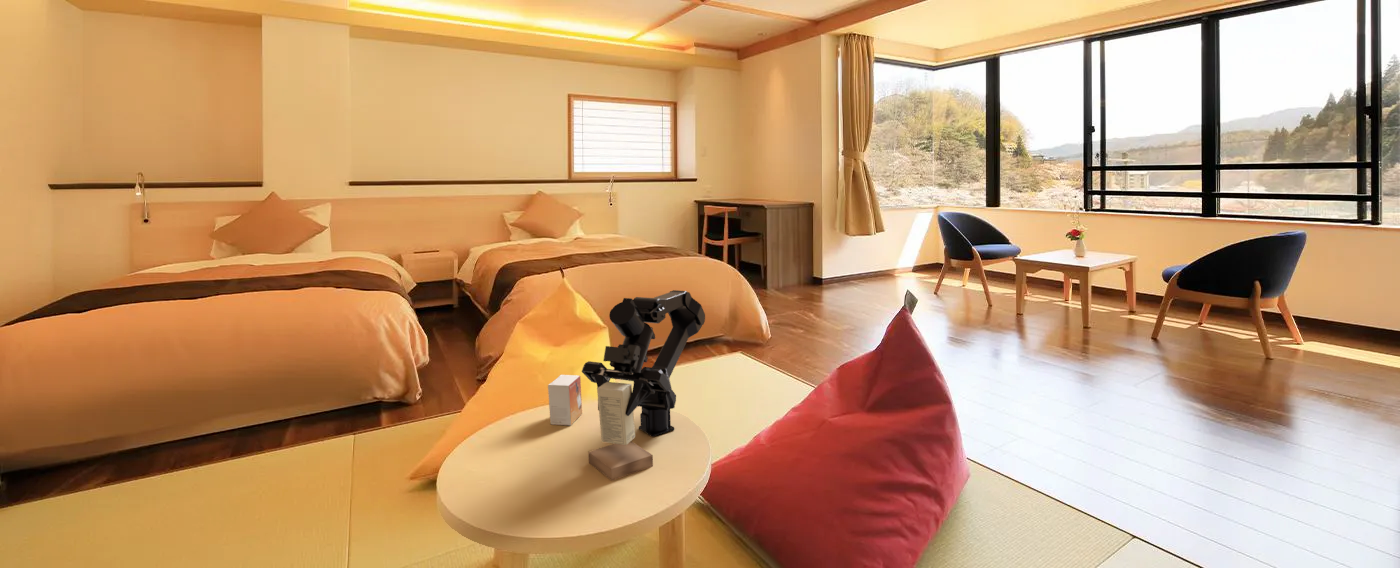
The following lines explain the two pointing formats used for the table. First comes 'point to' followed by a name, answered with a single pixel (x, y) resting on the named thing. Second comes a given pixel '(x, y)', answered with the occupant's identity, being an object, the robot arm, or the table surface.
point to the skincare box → (615, 413)
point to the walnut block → (620, 460)
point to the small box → (565, 399)
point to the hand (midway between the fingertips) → (613, 413)
